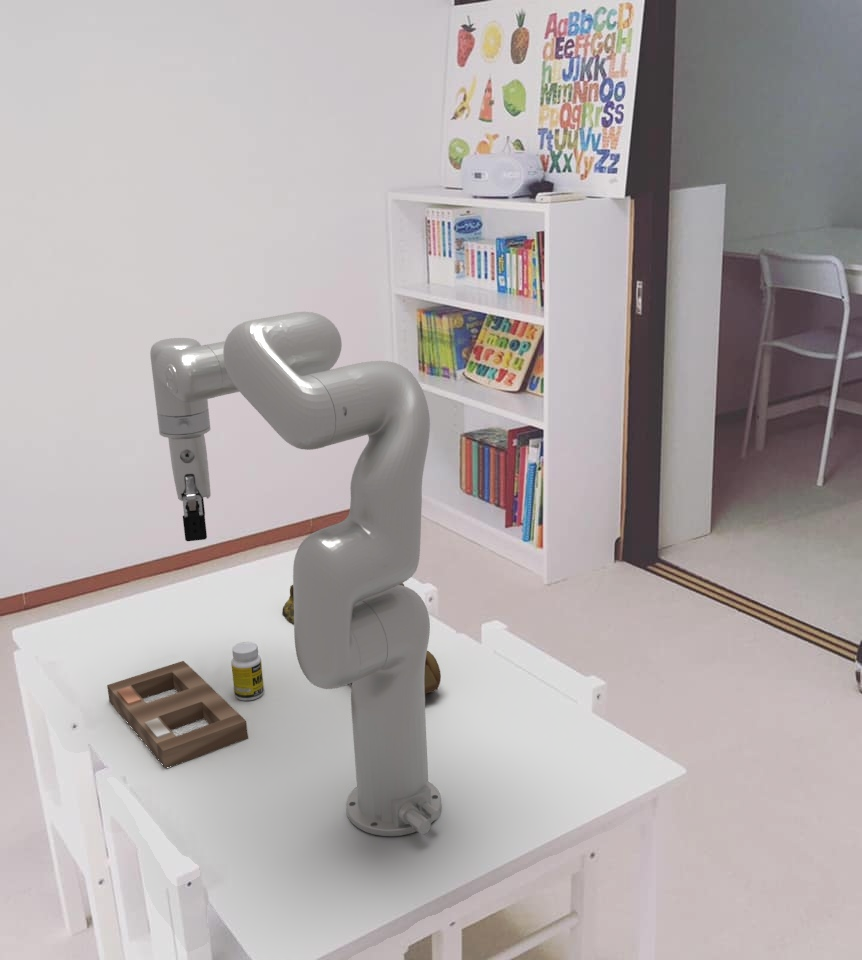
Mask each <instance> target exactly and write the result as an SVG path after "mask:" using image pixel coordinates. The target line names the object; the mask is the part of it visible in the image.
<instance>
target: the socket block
mask: <svg viewBox="0 0 862 960" xmlns="http://www.w3.org/2000/svg"><path fill="white" fill-rule="evenodd" d="M106 687H107V693H108V694H107V695H108V701H109V703H110V704H111V705H112V707H113V708H114V709H115V710H116V712H117V713H118V714H119V715H120V716H121V717H122V719H123V720H124V719H125V720H126V721H127V722H128V723H127V722H126V721H125V720H124V721H125V722H126V723H127V724H128V726H129V725H130V726H131V727H132V728H133V729H132V728H131V727H130V726H129V727H130V728H131V729H132V730H133V732H134V731H135V732H136V733H137V734H138V735H139V736H138V735H137V734H136V733H135V732H134V733H135V734H136V735H137V736H138V738H139V737H140V738H141V739H142V740H143V741H144V742H143V741H142V740H141V739H140V738H139V739H140V740H141V741H142V742H143V744H144V743H145V744H146V745H147V746H148V747H149V748H148V747H147V746H146V745H145V744H144V745H145V746H146V747H147V748H148V750H149V749H150V750H151V751H152V752H153V753H152V752H151V751H150V750H149V751H150V752H151V753H152V755H153V756H154V755H155V756H156V757H157V758H156V757H155V756H154V757H155V758H156V759H157V760H158V759H159V760H158V762H159V761H160V762H161V763H162V764H163V765H164V766H163V765H162V764H161V763H160V762H159V763H160V764H161V765H162V766H163V768H164V767H165V768H167V767H170V766H172V765H175V766H177V765H176V764H178V765H180V764H183V763H186V762H189V761H192V760H193V759H196V758H199V757H201V756H204V755H207V754H210V753H212V752H215V751H219V750H221V749H223V748H226V747H229V746H231V745H234V744H237V743H239V742H242V741H245V740H248V739H249V735H248V725H247V720H246V719H245V718H244V717H243V716H242V715H241V714H240V713H239V712H237V710H236V709H234V707H232V706H231V704H229V703H228V702H227V701H226V700H225V699H224V698H223V697H222V696H221V695H220V694H219V693H218V692H217V691H216V690H215V689H214V688H213V687H212V686H211V685H209V684H208V683H207V681H205V679H203V678H202V677H201V676H200V675H199V673H197V672H196V671H195V670H194V669H193V668H192V667H190V666H189V664H188V663H186V662H185V660H182V661H178V662H175V663H172V664H169V665H165V666H163V667H160V668H159V667H158V668H155V669H153V670H150V671H147V672H143V673H140V674H138V675H135V676H131V677H129V678H128V677H127V678H125V679H122V680H119V681H116V682H112V683H110V684H107V685H106ZM172 689H175V691H176V692H175V693H172V694H170V695H167V696H165V697H160V698H158V699H155V700H151V701H148V702H147V701H145V699H146V698H149V697H152V696H155V695H157V694H160V693H164V692H168V691H170V690H172ZM163 691H164V692H163ZM148 696H149V697H148ZM200 720H204V721H206V723H207V725H205V726H201V727H198V728H196V729H192V730H190V731H187V732H184V733H181V734H178V735H176V734H175V733H174V732H173V731H172V730H176V729H179V728H181V727H185V726H186V725H189V724H192V723H193V724H194V723H195V722H199V721H200ZM182 762H183V763H182ZM172 767H173V766H172ZM165 768H164V769H165ZM170 768H171V767H170ZM167 769H168V768H167Z"/></svg>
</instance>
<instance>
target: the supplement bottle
mask: <svg viewBox="0 0 862 960" xmlns="http://www.w3.org/2000/svg"><path fill="white" fill-rule="evenodd" d="M231 651H232V659H231V663H230V664H231V670H232V671H231V673H232V683H233V692H234V696H235V698H236V699H237V700H240V701H245V702H246V701H254V700H257V699H259V698H261V697H262V696H263V694H264V692H265V690H264V678H263V677H264V676H263V666H262V665H263V664H262V659H261V656H260V654H259V649H258V645H257V643H256V642H252V641H243V642H239V643H236V644H235V645H234V646H232V650H231Z"/></svg>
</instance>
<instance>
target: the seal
mask: <svg viewBox="0 0 862 960" xmlns="http://www.w3.org/2000/svg"><path fill="white" fill-rule="evenodd" d="M282 616H283V617H284V619H285V618H286V620H287V622H288V623H290V624H292V625H294V595H293V584H292V585H290V587H289V597H288V600H287V601H286V602H285V603H284V605H283V607H282Z"/></svg>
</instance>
